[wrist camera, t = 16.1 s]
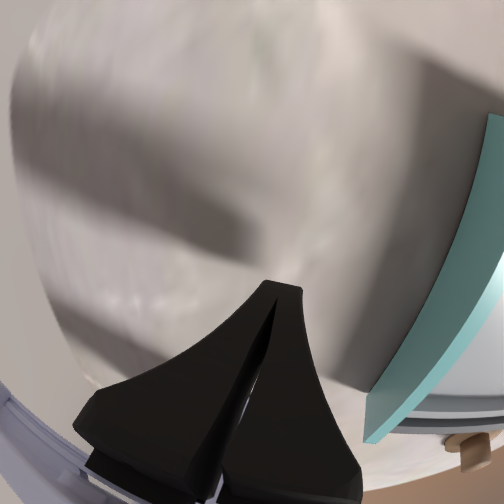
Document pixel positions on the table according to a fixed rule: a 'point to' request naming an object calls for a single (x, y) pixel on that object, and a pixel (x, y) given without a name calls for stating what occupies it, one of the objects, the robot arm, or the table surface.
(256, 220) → the table surface
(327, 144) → the table surface
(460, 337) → the tray
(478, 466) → the disc stand
